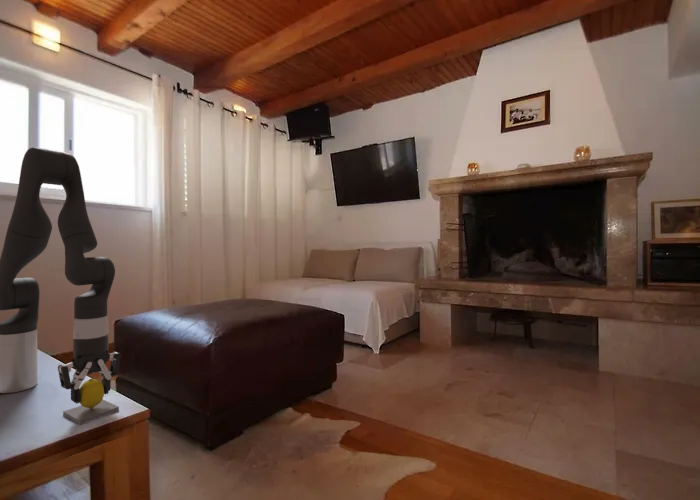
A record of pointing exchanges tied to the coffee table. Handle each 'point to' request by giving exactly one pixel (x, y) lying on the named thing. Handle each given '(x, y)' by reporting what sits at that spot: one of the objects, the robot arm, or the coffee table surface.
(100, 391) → the lemon
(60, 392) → the coffee table surface
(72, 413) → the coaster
